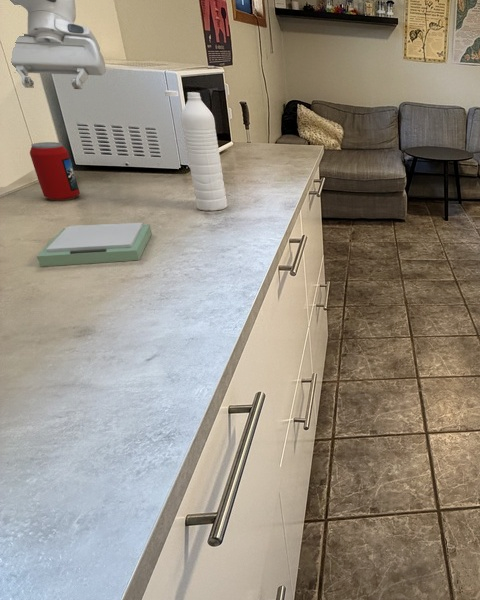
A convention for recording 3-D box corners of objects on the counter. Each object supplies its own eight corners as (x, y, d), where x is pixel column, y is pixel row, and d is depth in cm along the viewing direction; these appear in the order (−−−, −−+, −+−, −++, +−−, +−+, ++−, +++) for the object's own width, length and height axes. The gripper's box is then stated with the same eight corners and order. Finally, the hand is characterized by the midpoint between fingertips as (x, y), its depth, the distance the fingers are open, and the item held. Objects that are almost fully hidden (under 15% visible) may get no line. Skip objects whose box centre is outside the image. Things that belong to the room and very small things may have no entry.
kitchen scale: (40, 266, 77) (35, 252, 76) (66, 237, 89) (62, 225, 88) (139, 260, 82) (135, 246, 81) (151, 233, 94) (149, 221, 93)
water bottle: (229, 203, 114) (213, 91, 103) (224, 211, 109) (206, 94, 97) (190, 203, 113) (169, 89, 101) (183, 211, 107) (159, 91, 95)
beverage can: (86, 197, 111) (71, 144, 105) (53, 203, 106) (35, 148, 100) (72, 192, 114) (56, 140, 108) (38, 197, 108) (20, 143, 103)
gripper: (-11, 22, 105) (-13, 75, 102) (96, 28, 112) (98, 79, 109) (6, 43, 111) (5, 94, 108) (107, 48, 117) (109, 96, 115)
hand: (52, 86), depth 109 cm, fingers open, 8 cm apart
